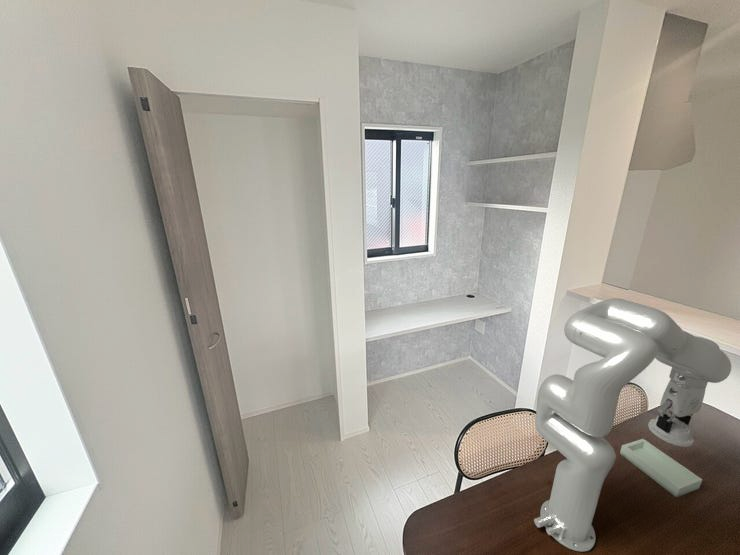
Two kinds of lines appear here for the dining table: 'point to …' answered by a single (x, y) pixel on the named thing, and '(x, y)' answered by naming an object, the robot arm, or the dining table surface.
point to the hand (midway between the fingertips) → (671, 426)
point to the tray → (661, 467)
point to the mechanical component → (673, 433)
